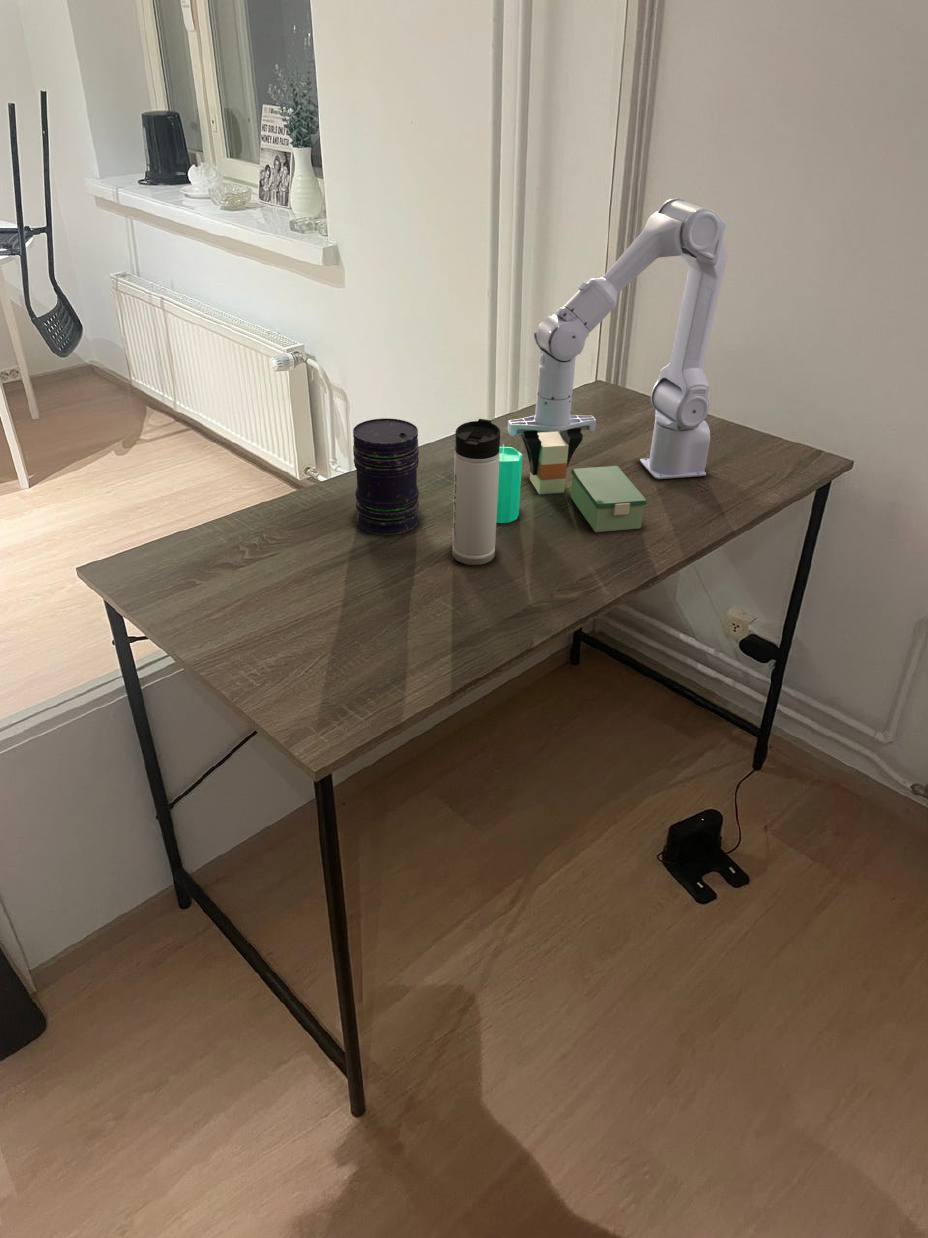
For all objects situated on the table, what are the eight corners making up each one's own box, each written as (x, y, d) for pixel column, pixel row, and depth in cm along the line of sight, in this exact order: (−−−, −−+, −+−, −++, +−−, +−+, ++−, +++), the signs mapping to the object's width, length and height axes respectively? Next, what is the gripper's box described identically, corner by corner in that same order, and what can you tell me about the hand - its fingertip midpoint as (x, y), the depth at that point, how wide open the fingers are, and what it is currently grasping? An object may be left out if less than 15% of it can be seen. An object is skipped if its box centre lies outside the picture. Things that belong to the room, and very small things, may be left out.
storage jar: (344, 526, 141) (339, 435, 133) (376, 501, 149) (373, 413, 140) (400, 540, 138) (399, 448, 129) (430, 514, 145) (430, 425, 137)
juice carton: (554, 477, 158) (558, 431, 153) (564, 492, 153) (569, 445, 148) (529, 479, 157) (532, 432, 152) (539, 494, 152) (542, 447, 147)
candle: (492, 526, 142) (496, 454, 136) (474, 510, 147) (477, 440, 140) (525, 518, 145) (530, 448, 138) (506, 503, 149) (510, 434, 142)
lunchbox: (613, 492, 154) (616, 464, 151) (643, 529, 143) (647, 501, 140) (568, 495, 152) (570, 468, 149) (594, 533, 141) (598, 504, 138)
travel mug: (500, 548, 137) (507, 421, 125) (487, 569, 131) (493, 439, 120) (461, 540, 138) (464, 415, 127) (446, 561, 133) (448, 432, 122)
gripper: (589, 383, 151) (581, 459, 158) (504, 387, 148) (500, 464, 155) (603, 398, 145) (594, 476, 152) (515, 403, 142) (511, 482, 150)
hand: (548, 471), depth 154 cm, fingers closed on juice carton, 4 cm apart
